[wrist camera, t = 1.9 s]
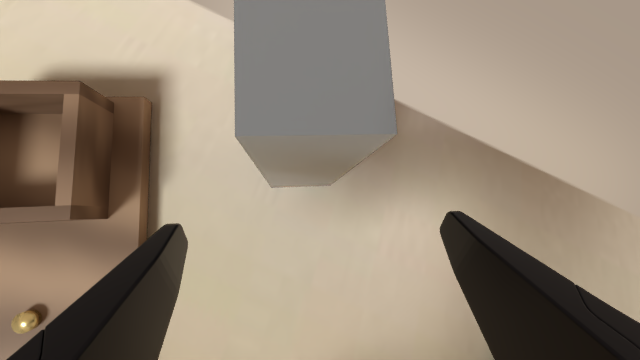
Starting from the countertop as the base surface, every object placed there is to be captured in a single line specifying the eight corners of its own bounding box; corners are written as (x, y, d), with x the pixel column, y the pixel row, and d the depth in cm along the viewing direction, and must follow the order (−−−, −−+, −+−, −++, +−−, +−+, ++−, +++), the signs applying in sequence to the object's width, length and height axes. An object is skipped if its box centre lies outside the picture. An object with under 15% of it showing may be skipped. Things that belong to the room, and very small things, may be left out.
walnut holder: (141, 376, 17) (96, 425, 13) (-71, 401, 16) (-193, 464, 12) (151, 103, 19) (116, 74, 16) (-32, 102, 18) (-122, 71, 14)
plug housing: (329, 185, 20) (397, 134, 7) (271, 187, 20) (235, 136, 7) (326, 129, 21) (384, -8, 8) (270, 130, 20) (233, -16, 7)
